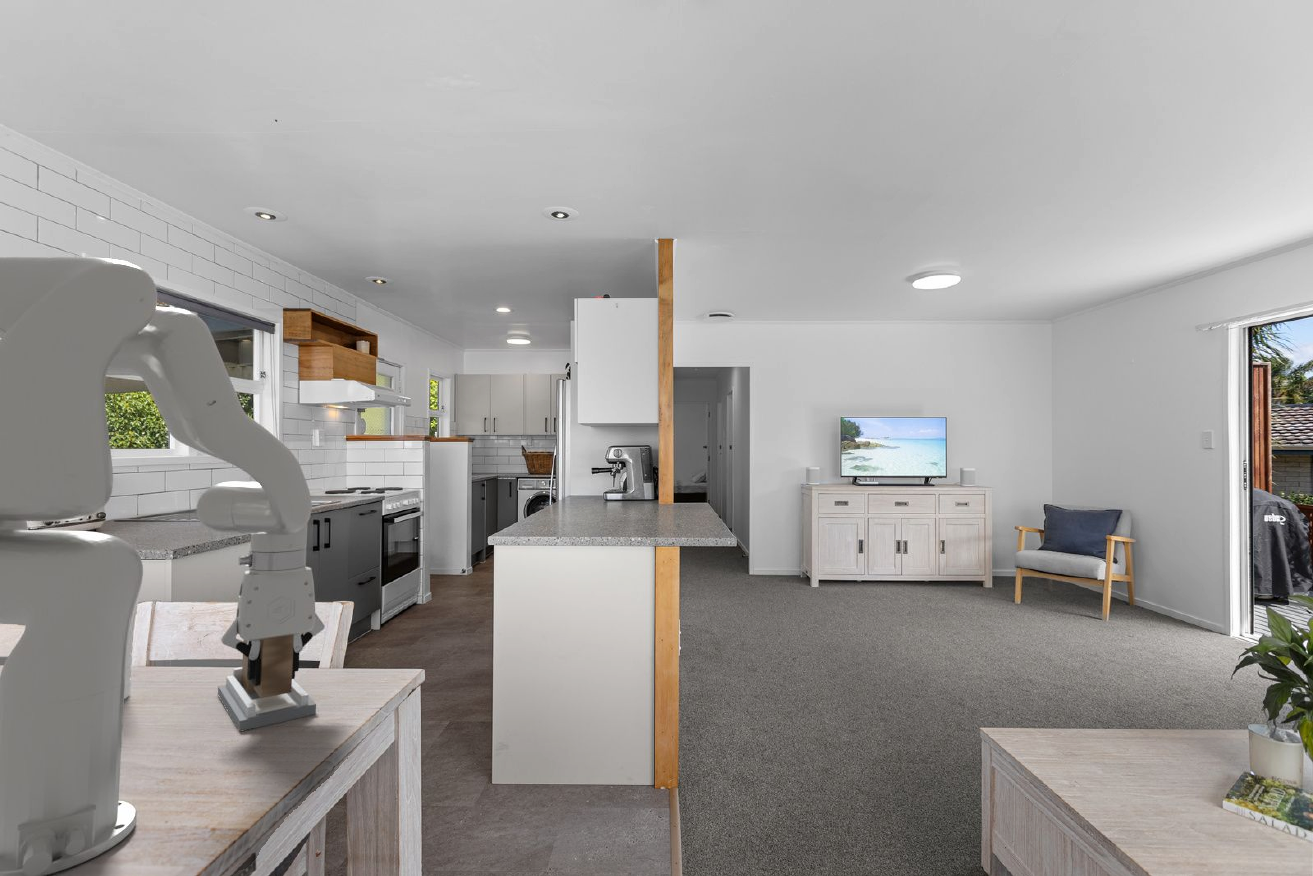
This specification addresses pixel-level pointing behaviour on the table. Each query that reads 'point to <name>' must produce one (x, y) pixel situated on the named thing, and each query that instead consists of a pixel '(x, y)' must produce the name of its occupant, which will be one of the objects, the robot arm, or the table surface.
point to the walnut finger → (276, 666)
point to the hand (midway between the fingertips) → (273, 679)
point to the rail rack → (261, 701)
